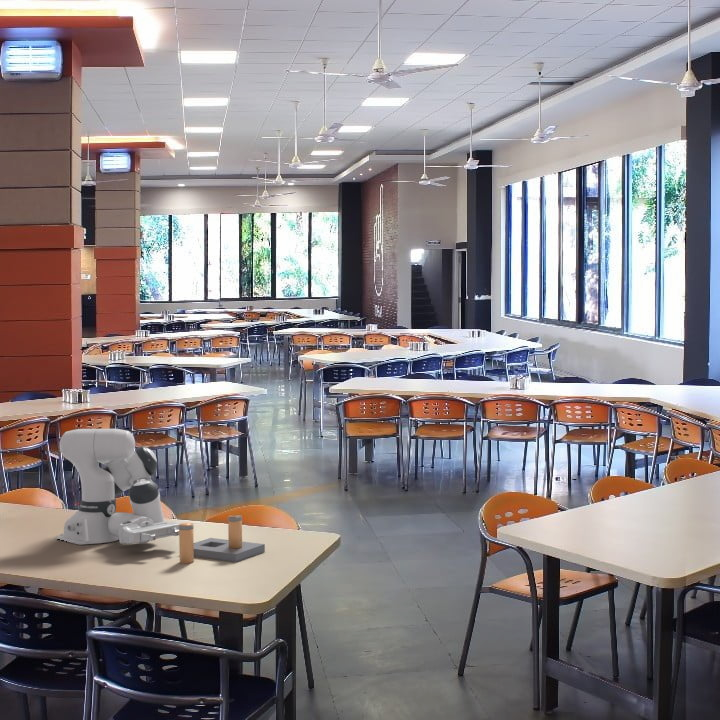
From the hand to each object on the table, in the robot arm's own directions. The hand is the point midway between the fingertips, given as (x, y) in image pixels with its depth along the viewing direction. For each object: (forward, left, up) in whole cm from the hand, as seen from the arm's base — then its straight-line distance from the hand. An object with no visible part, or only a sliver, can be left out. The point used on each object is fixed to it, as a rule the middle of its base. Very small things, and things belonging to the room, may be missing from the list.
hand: (165, 535), depth 322 cm
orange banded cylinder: (+11, -3, -7) cm, 13 cm away
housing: (+14, +12, -7) cm, 19 cm away
